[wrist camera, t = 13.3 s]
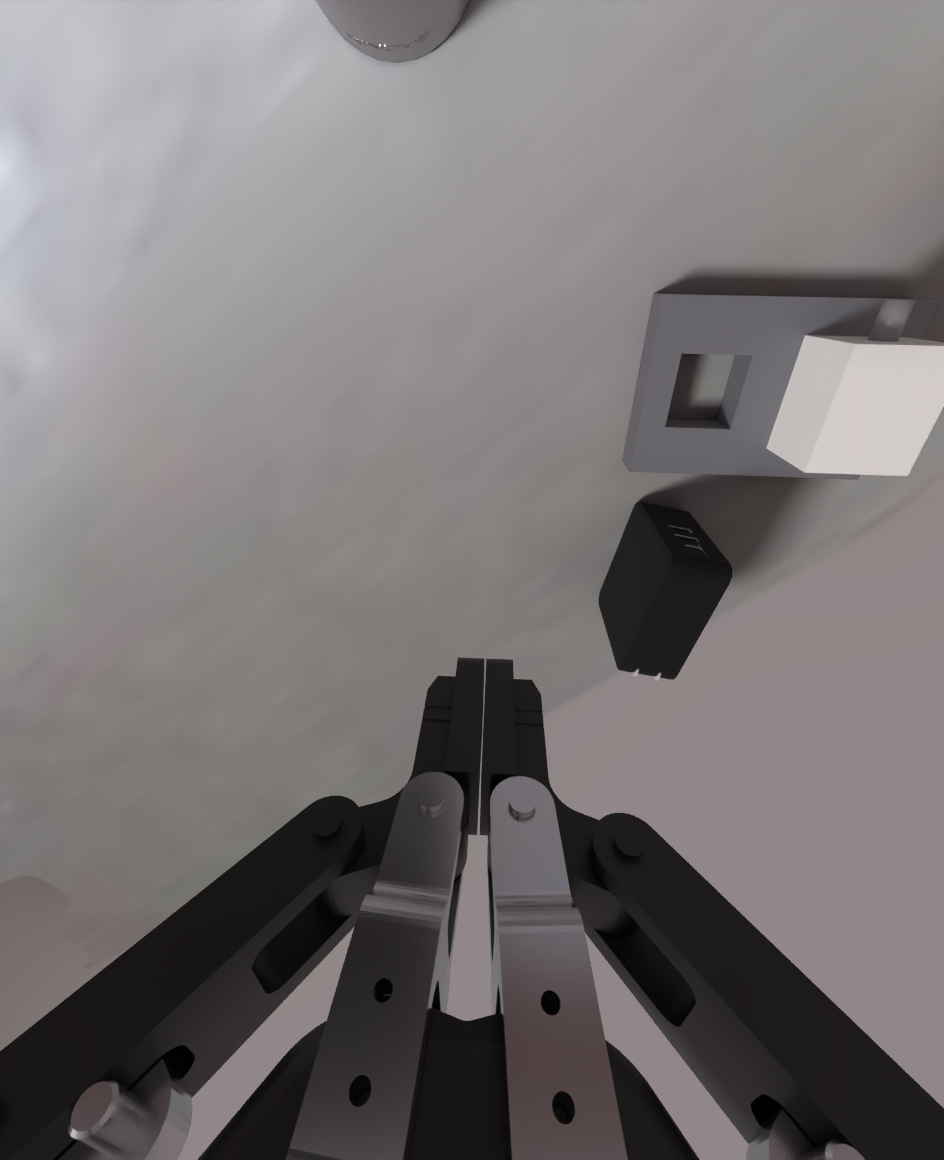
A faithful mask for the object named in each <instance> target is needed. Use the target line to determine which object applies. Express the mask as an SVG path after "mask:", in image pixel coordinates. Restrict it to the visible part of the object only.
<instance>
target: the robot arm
mask: <svg viewBox="0 0 944 1160" xmlns="http://www.w3.org/2000/svg"><path fill="white" fill-rule="evenodd" d="M469 1H470V0H316V2H317V3H318V5H319V6H320V8H321V9H322V11H323V12H324V14H325V15H326V17H327V18H328V20H329V21H330V22H331V23H332V25H333V26H334V27H335V28H336V29H337V31H338V32H339V33H340V34H341V35H342V37H343V38H344V39H345V40H346V41H348V42H349V43H350V44H351V45H353V46H354V47H355V48H356V49H358V50H359V51H360V52H362V53H364V54H366V55H368V56H371V57H373V58H375V59H377V60H381V61H388V62H395V63H398V62H405V61H411V60H415V59H417V58H419V57H421V56H423V55H426V54H428V53H430V52H431V51H433V50H434V49H435V48H436V47H437V46H438V45H440V44H441V43H442V42H443V41H444V40H445V39H446V38H447V37H448V36H449V34H450V33H451V32H452V30H453V29H454V28H455V26H456V25H457V24H458V22H459V21H460V19H461V17H462V15H463V13H464V11H465V9H466V7H467V5H468V3H469ZM483 690H484V659H480V658H458V662H457V670H456V677H451V676H438V677H437V678H436V679H435V681H434V682H433V683H432V685H431V686H430V687H429V689H428V691H427V697H426V702H425V709H424V713H423V718H422V724H421V729H420V734H419V740H418V745H417V751H416V756H415V761H414V767H413V771H412V775H411V777H410V779H409V781H408V783H407V784H406V785H405V787H404V788H403V789H402V790H401V791H399V792H398V793H397V794H395V795H394V796H392V797H390V798H388V799H386V800H383V801H380V802H376V803H373V804H369V805H365V806H361V807H358V806H357V804H356V803H355V802H353V801H352V800H351V799H349V798H346V797H343V796H329V797H324V798H322V799H319V800H317V801H315V802H313V803H312V804H311V805H309V806H308V807H307V808H305V809H304V810H303V811H302V812H300V813H299V814H298V815H296V816H295V817H294V818H293V819H291V820H290V821H289V822H288V823H286V824H285V825H284V826H283V827H281V828H280V829H279V830H278V831H276V832H275V833H274V834H273V835H271V836H270V837H269V838H268V839H266V840H265V841H264V842H263V843H261V844H260V845H259V846H258V847H256V848H255V849H254V850H253V851H251V852H250V853H249V854H247V855H246V856H245V857H244V858H242V859H241V860H240V861H239V862H237V863H236V864H235V865H234V866H232V867H231V868H230V869H229V870H227V871H226V872H225V873H224V874H222V875H221V876H220V877H219V878H217V879H216V880H215V881H214V882H212V883H211V884H210V885H209V886H207V887H206V888H205V889H204V890H202V891H201V892H200V893H199V894H197V895H196V896H195V897H193V898H192V899H191V900H190V901H188V902H187V903H186V904H185V905H183V906H182V907H181V908H180V909H178V910H177V911H176V912H175V913H173V914H172V915H171V916H170V917H168V918H167V919H166V920H165V921H163V922H162V923H161V924H160V925H158V926H157V927H156V928H155V929H153V930H152V931H151V932H150V933H148V934H147V935H146V936H145V937H143V938H142V939H141V940H139V941H138V942H137V943H136V944H134V945H133V946H132V947H131V948H129V949H128V950H127V951H126V952H124V953H123V954H122V955H121V956H119V957H118V958H117V959H116V960H114V961H113V962H112V963H111V964H109V965H108V966H107V967H106V968H104V969H103V970H102V971H101V972H99V973H98V974H97V975H96V976H94V977H93V978H92V979H91V980H89V981H88V982H87V983H85V984H84V985H83V986H82V987H80V988H79V989H78V990H77V991H75V992H74V993H73V994H72V995H71V996H69V997H68V998H67V999H65V1000H64V1001H63V1002H62V1003H60V1004H59V1005H58V1006H57V1007H55V1008H54V1009H53V1010H52V1011H50V1012H49V1013H48V1014H47V1015H45V1016H44V1017H43V1018H42V1019H40V1020H39V1021H38V1022H36V1023H35V1024H34V1025H33V1026H32V1027H30V1028H29V1029H28V1030H27V1031H25V1032H24V1033H23V1034H22V1035H20V1036H19V1037H18V1038H16V1039H15V1040H14V1041H13V1042H12V1043H10V1044H9V1045H8V1046H6V1047H5V1048H4V1049H3V1050H1V1051H0V1160H178V1158H179V1156H180V1154H181V1151H182V1149H183V1147H184V1145H185V1142H186V1139H187V1137H188V1133H189V1129H190V1125H191V1118H192V1099H191V1098H192V1097H193V1096H194V1095H195V1094H196V1093H197V1092H198V1091H199V1090H200V1089H201V1088H202V1086H203V1085H204V1084H205V1083H206V1082H207V1081H208V1080H209V1079H210V1078H211V1077H212V1076H213V1075H214V1074H215V1073H216V1072H217V1071H218V1069H220V1068H221V1067H222V1065H223V1064H224V1063H225V1062H226V1061H227V1060H228V1059H229V1058H230V1057H231V1056H232V1055H233V1054H234V1053H235V1052H236V1051H237V1050H238V1048H239V1047H240V1046H241V1045H242V1044H243V1043H244V1042H245V1041H246V1040H247V1039H248V1038H249V1037H250V1036H251V1035H252V1034H253V1033H254V1032H255V1031H256V1029H257V1028H258V1027H259V1026H260V1025H261V1024H262V1023H263V1022H264V1021H265V1020H266V1019H267V1018H268V1017H269V1016H270V1015H271V1014H272V1013H273V1012H274V1011H275V1010H276V1008H277V1007H278V1006H279V1005H280V1004H281V1003H282V1002H283V1001H284V1000H285V999H286V998H287V997H288V996H289V994H291V993H292V992H293V991H294V989H296V987H297V986H298V985H299V984H300V983H301V982H302V981H303V980H304V979H305V978H306V977H307V976H308V975H309V974H310V973H311V972H312V971H313V969H314V968H315V967H316V966H317V965H318V964H319V963H320V962H321V961H322V960H323V959H324V958H325V957H326V956H327V955H328V954H329V953H330V952H331V950H333V948H334V947H335V946H336V945H337V944H338V943H339V942H340V941H341V940H342V939H343V938H344V937H345V936H346V935H347V934H348V933H349V932H350V931H351V930H352V928H353V927H354V926H355V927H354V931H353V934H352V938H351V941H350V945H349V947H348V951H347V954H346V958H345V961H344V964H343V968H342V971H341V974H340V978H339V981H338V985H337V988H336V992H335V995H334V998H333V1001H332V1005H331V1008H330V1012H329V1015H328V1018H327V1021H325V1022H324V1023H322V1024H320V1025H319V1026H317V1027H316V1028H314V1029H313V1030H312V1031H311V1032H309V1033H308V1034H307V1035H305V1036H304V1037H303V1038H302V1039H301V1040H300V1041H299V1042H298V1043H297V1044H295V1045H294V1046H293V1048H291V1049H290V1051H288V1053H287V1054H286V1055H285V1056H284V1057H283V1058H282V1059H281V1061H280V1062H279V1063H278V1064H277V1065H276V1066H275V1068H274V1069H273V1070H272V1071H271V1073H270V1074H269V1075H268V1076H267V1077H266V1078H265V1080H264V1081H263V1082H262V1083H261V1085H260V1086H259V1087H258V1088H257V1089H256V1090H255V1092H254V1093H253V1094H252V1095H251V1096H250V1098H249V1099H248V1100H247V1101H246V1102H245V1104H244V1105H243V1106H242V1107H241V1109H240V1110H239V1111H238V1112H237V1113H236V1114H235V1116H234V1117H233V1118H232V1119H231V1120H230V1122H229V1123H228V1124H227V1125H226V1126H225V1128H224V1129H223V1130H222V1131H221V1132H220V1134H219V1135H218V1136H217V1137H216V1138H215V1139H214V1141H213V1142H212V1143H211V1144H210V1145H209V1147H208V1148H207V1149H206V1150H205V1152H204V1153H203V1154H202V1155H201V1156H200V1157H199V1159H198V1160H699V1158H698V1157H697V1156H696V1154H695V1152H694V1151H693V1149H692V1148H691V1146H690V1145H689V1143H688V1142H687V1140H686V1139H685V1137H684V1136H683V1134H682V1133H681V1131H680V1130H679V1128H678V1127H677V1125H676V1124H675V1122H674V1121H673V1119H672V1118H671V1116H670V1115H669V1113H668V1112H667V1110H666V1109H665V1107H664V1106H663V1104H662V1103H661V1101H660V1100H659V1098H658V1097H657V1095H656V1094H655V1092H654V1091H653V1089H652V1088H651V1087H650V1085H649V1084H648V1082H647V1081H646V1080H645V1078H644V1077H643V1076H642V1075H641V1073H640V1072H639V1071H638V1070H637V1069H636V1067H635V1066H634V1065H633V1064H632V1063H631V1062H630V1061H629V1060H628V1059H627V1058H626V1057H625V1056H624V1055H623V1054H622V1053H621V1052H620V1051H619V1050H618V1049H617V1048H615V1047H614V1046H613V1045H611V1044H610V1043H609V1042H608V1041H606V1040H605V1036H604V1031H603V1026H602V1021H601V1015H600V1010H599V1005H598V999H597V994H596V989H595V983H594V979H593V973H592V968H591V962H590V957H589V952H588V947H587V941H586V937H585V933H586V934H587V936H588V937H589V938H590V939H591V941H592V942H593V943H594V945H595V946H596V947H597V948H598V950H599V951H600V952H601V954H602V955H603V956H604V958H605V959H606V960H607V961H608V963H609V964H610V965H611V967H612V968H613V969H614V970H615V972H616V973H617V974H618V976H619V977H620V978H621V979H622V981H623V982H624V983H625V985H626V986H627V987H628V989H629V990H630V991H631V992H632V994H633V995H634V996H635V997H636V999H637V1000H638V1002H639V1003H640V1004H641V1005H642V1007H643V1008H644V1009H645V1011H646V1012H647V1013H648V1014H649V1016H650V1017H651V1018H652V1019H653V1021H654V1022H655V1024H656V1025H657V1026H658V1027H659V1029H660V1030H661V1031H662V1033H663V1034H664V1035H665V1036H666V1038H667V1039H668V1040H669V1042H670V1043H671V1044H672V1046H673V1047H674V1048H675V1049H676V1051H677V1052H678V1053H679V1055H680V1056H681V1057H682V1058H683V1060H684V1061H685V1062H686V1064H687V1065H688V1066H689V1067H690V1069H691V1070H692V1071H693V1073H694V1074H695V1075H696V1077H697V1078H698V1079H699V1080H700V1082H701V1083H702V1084H703V1086H704V1087H705V1088H706V1090H707V1091H708V1092H709V1093H710V1095H711V1096H712V1097H713V1098H714V1100H715V1101H716V1102H717V1104H718V1105H719V1106H720V1108H721V1109H722V1110H723V1112H724V1113H725V1114H726V1115H727V1117H728V1118H729V1119H730V1120H731V1122H732V1123H733V1124H734V1126H735V1127H736V1128H737V1130H738V1131H739V1132H740V1133H741V1135H742V1136H743V1137H744V1139H745V1140H746V1141H747V1143H748V1144H749V1145H748V1149H747V1155H746V1160H944V1108H943V1107H942V1106H941V1105H939V1104H938V1103H937V1102H936V1101H935V1100H934V1099H933V1098H932V1097H931V1096H930V1095H929V1094H928V1093H927V1092H926V1091H925V1090H924V1089H923V1088H922V1087H921V1086H920V1085H919V1084H918V1083H917V1082H916V1081H914V1079H912V1078H911V1077H910V1076H909V1075H908V1074H907V1073H906V1072H905V1071H904V1070H903V1069H902V1068H901V1067H900V1066H899V1065H898V1064H897V1063H896V1062H895V1061H894V1060H893V1059H892V1058H890V1056H889V1055H887V1054H886V1053H885V1052H884V1051H883V1050H882V1049H881V1048H880V1047H879V1046H878V1045H877V1044H876V1043H875V1042H874V1041H873V1040H872V1039H871V1038H870V1037H869V1036H868V1035H867V1034H866V1033H865V1032H863V1030H862V1029H860V1028H859V1027H858V1026H857V1025H856V1024H855V1023H854V1022H853V1021H852V1020H851V1019H850V1018H849V1017H848V1016H847V1015H846V1014H845V1013H844V1012H843V1011H842V1010H841V1009H840V1008H839V1007H838V1006H836V1005H835V1004H834V1003H833V1002H832V1001H831V1000H830V999H829V998H828V997H827V996H826V995H825V994H824V993H823V992H822V991H821V990H820V989H819V988H818V987H817V986H816V985H815V984H813V983H812V981H811V980H810V979H808V978H807V977H806V976H805V975H804V974H803V973H802V972H801V971H800V970H799V969H798V968H797V967H796V966H795V965H794V964H793V963H791V961H790V960H789V959H788V958H786V957H785V956H784V955H783V954H782V953H781V952H780V951H779V950H778V949H777V948H776V947H775V946H774V945H773V944H772V943H771V942H770V941H769V940H768V939H767V938H766V937H765V936H764V935H763V934H761V932H759V930H757V929H756V928H755V927H754V926H753V925H752V924H751V923H750V922H749V921H748V920H747V919H746V918H745V917H744V916H743V915H742V914H741V913H740V912H739V911H738V910H737V909H736V908H735V907H733V905H731V904H730V903H729V902H728V901H727V900H726V899H725V898H724V897H723V896H722V895H721V894H720V893H719V892H718V891H717V890H716V889H715V888H714V887H713V886H712V885H711V884H710V883H709V882H708V881H707V880H705V879H704V878H703V877H702V876H701V875H700V874H699V873H698V872H697V871H696V870H695V869H694V868H693V867H692V866H691V865H690V864H689V863H688V862H687V861H686V860H685V859H684V858H683V857H682V856H680V855H679V854H678V853H677V852H676V851H675V850H674V849H673V848H672V847H671V846H670V845H669V844H668V843H667V842H666V841H665V840H664V839H663V838H662V837H661V836H660V835H658V833H657V832H656V831H655V830H653V829H652V828H651V827H650V826H649V825H648V824H647V823H646V822H644V821H643V820H641V819H639V818H637V817H635V816H633V815H630V814H625V813H613V814H609V815H606V816H605V817H603V818H602V819H601V820H597V819H595V818H592V817H589V816H586V815H584V814H582V813H579V812H576V811H574V810H572V809H571V808H569V807H567V806H566V805H565V804H564V803H562V802H561V801H560V800H559V799H558V798H557V796H556V795H555V793H554V792H553V790H552V788H551V786H550V783H549V778H548V768H547V758H546V746H545V735H544V728H543V714H542V702H541V694H540V692H539V691H538V689H537V688H536V686H535V684H534V683H533V681H532V680H521V679H513V660H506V659H487V661H486V684H485V706H484V729H483V751H482V774H481V811H480V813H481V814H480V835H488V857H487V887H488V910H489V933H490V957H491V1004H492V1005H491V1007H492V1015H491V1016H487V1017H483V1018H480V1019H476V1020H472V1021H463V1020H460V1019H457V1018H455V1017H453V1016H451V1015H448V1014H446V1010H447V1003H448V994H449V982H450V970H451V960H452V953H453V946H454V939H455V932H456V924H457V917H458V909H459V902H460V896H461V889H462V881H463V874H464V867H465V864H466V860H467V848H468V834H469V835H477V824H478V803H479V781H480V761H481V740H482V719H483Z"/></svg>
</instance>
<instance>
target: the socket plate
mask: <svg viewBox="0 0 944 1160" xmlns="http://www.w3.org/2000/svg"><path fill="white" fill-rule="evenodd" d="M884 299H901V300H916V302H915V304H914V306H913V309H912V311H911V313H910V315H909V318H908V320H907V322H906V325H905V327H904V329H903V331H902V334H901V336H900V337H907V338H915V339H922V340H923V338H924V336H925V334H926V332H927V330H928V327H929V325H930V323H931V321H932V319H933V317H934V314H935V312H936V310H937V308H938V306H939V304H940V301H941V300H934V299H907V298H858V297H808V296H759V295H709V294H660V293H654V294H653V300H652V305H651V310H650V316H649V321H648V326H647V332H646V337H645V342H644V348H643V353H642V358H641V364H640V369H639V374H638V380H637V385H636V391H635V396H634V401H633V407H632V412H631V417H630V423H629V428H628V433H627V439H626V444H625V449H624V455H623V460H622V461H623V462H624V464H625V465H626V467H627V468H628V470H629V471H630V472H657V473H685V474H714V475H742V476H770V477H798V478H827V479H855V480H858V478H859V476H860V474H830V473H804V472H803V471H801V470H800V469H798V468H796V467H795V466H793V465H792V464H790V463H789V462H787V461H785V460H784V459H782V458H781V457H779V456H778V455H776V454H774V453H773V452H771V451H770V450H768V449H767V448H766V447H767V445H768V442H769V439H770V436H771V433H772V430H773V427H774V424H775V421H776V418H777V415H778V413H779V410H780V407H781V404H782V401H783V398H784V395H785V392H786V389H787V386H788V383H789V380H790V378H791V375H792V372H793V369H794V366H795V363H796V360H797V357H798V354H799V351H800V348H801V346H802V343H803V340H804V337H805V335H820V336H866V337H869V335H870V333H871V330H872V328H873V325H874V323H875V321H876V318H877V316H878V313H879V311H880V308H881V306H882V303H883V301H884ZM682 354H721V355H735V357H734V361H733V364H732V368H731V372H730V375H729V379H728V382H727V386H726V389H725V393H724V396H723V400H722V404H721V407H720V411H719V414H718V418H717V420H689V419H667V417H668V412H669V408H670V403H671V399H672V395H673V390H674V386H675V381H676V377H677V373H678V368H679V364H680V359H681V355H682Z"/></svg>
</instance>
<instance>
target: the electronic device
mask: <svg viewBox="0 0 944 1160" xmlns="http://www.w3.org/2000/svg"><path fill="white" fill-rule="evenodd" d="M731 578H732V567H731V565H730V563H729V562H728V560H727V559H726V558H725V557H724V555H723V554H722V553H721V552H720V550H719V549H718V548H717V547H716V545H715V544H714V543H713V542H712V540H711V539H710V538H709V537H708V535H707V534H706V533H705V532H704V530H703V529H702V528H701V527H700V525H699V524H698V523H697V522H696V520H695V519H694V518H693V517H692V515H691V514H690V513H689V512H687V511H682V510H677V509H672V508H667V507H662V506H657V505H652V504H647V503H642V502H637V503H636V504H635V506H634V508H633V510H632V513H631V515H630V518H629V520H628V523H627V525H626V528H625V530H624V533H623V535H622V538H621V540H620V543H619V546H618V548H617V551H616V553H615V556H614V558H613V561H612V563H611V566H610V568H609V571H608V573H607V576H606V578H605V581H604V583H603V586H602V588H601V591H600V594H599V607H600V610H601V614H602V617H603V620H604V624H605V627H606V631H607V634H608V638H609V641H610V644H611V648H612V651H613V655H614V658H615V662H616V665H617V668H618V669H619V670H622V671H627V672H632V674H633V676H637V674H644V675H649V676H653V677H654V679H655V680H657V681H658V680H659V678H660V677H661V678H666V679H675V677H677V675H678V673H679V672H680V670H681V668H682V666H683V665H684V663H685V661H686V659H687V658H688V656H689V654H690V652H691V650H692V649H693V647H694V645H695V643H696V642H697V640H698V638H699V636H700V635H701V633H702V631H703V629H704V628H705V626H706V624H707V622H708V620H709V619H710V617H711V615H712V613H713V612H714V610H715V608H716V606H717V605H718V603H719V601H720V599H721V598H722V596H723V594H724V592H725V590H726V589H727V587H728V585H729V583H730V581H731Z"/></svg>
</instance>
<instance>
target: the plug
mask: <svg viewBox="0 0 944 1160" xmlns="http://www.w3.org/2000/svg"><path fill="white" fill-rule="evenodd" d="M915 302H916V300H901V299H884V301H883V303H882V306H881V308H880V311H879V313H878V316H877V318H876V321H875V323H874V325H873V328H872V330H871V333H870V335H869V337H866V336H820V335H805V337H804V340H803V343H802V346H801V348H800V351H799V354H798V357H797V360H796V363H795V366H794V369H793V372H792V375H791V378H790V380H789V383H788V386H787V389H786V392H785V395H784V398H783V401H782V404H781V407H780V410H779V413H778V415H777V418H776V421H775V424H774V427H773V430H772V433H771V436H770V439H769V442H768V445H767V447H766V448H767V449H768V450H770V451H771V452H773V453H774V454H776V455H778V456H779V457H781V458H782V459H784V460H785V461H787V462H789V463H790V464H792V465H793V466H795V467H796V468H798V469H800V470H801V471H803V472H804V473H830V474H860V475H890V476H908V474H909V472H910V470H911V468H912V466H913V465H914V463H915V461H916V459H917V457H918V455H919V453H920V451H921V449H922V447H923V445H924V443H925V441H926V439H927V437H928V436H929V434H930V432H931V430H932V428H933V426H934V424H935V422H936V420H937V418H938V416H939V414H940V412H941V410H942V408H943V407H944V342H937V341H929V340H922V339H915V338H907V337H900V336H901V334H902V331H903V329H904V327H905V325H906V322H907V320H908V318H909V315H910V313H911V311H912V309H913V306H914V304H915Z"/></svg>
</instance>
